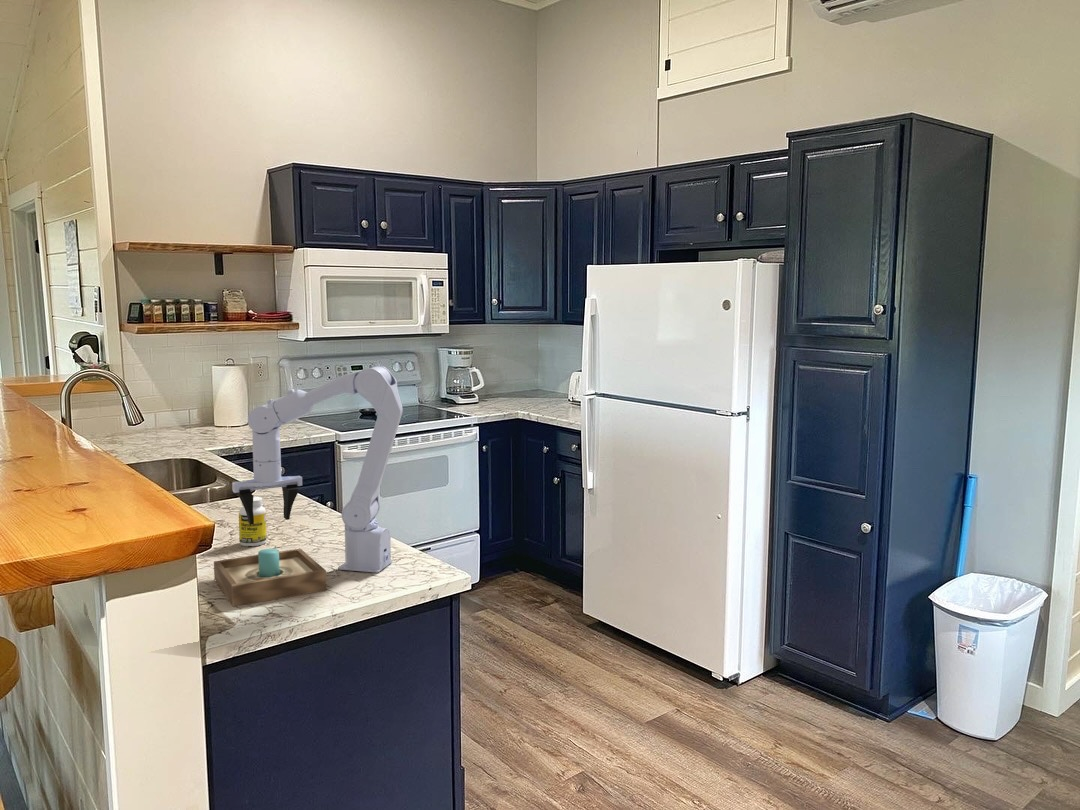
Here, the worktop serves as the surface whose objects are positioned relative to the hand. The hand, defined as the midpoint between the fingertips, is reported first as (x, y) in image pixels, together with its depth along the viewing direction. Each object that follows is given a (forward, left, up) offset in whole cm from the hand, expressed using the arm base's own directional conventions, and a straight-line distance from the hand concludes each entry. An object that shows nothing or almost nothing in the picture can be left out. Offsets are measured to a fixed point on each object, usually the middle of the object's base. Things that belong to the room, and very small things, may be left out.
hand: (269, 521), depth 180 cm
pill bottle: (+13, -14, -10) cm, 22 cm away
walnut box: (-7, +12, -10) cm, 17 cm away
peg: (-7, +12, -10) cm, 17 cm away
